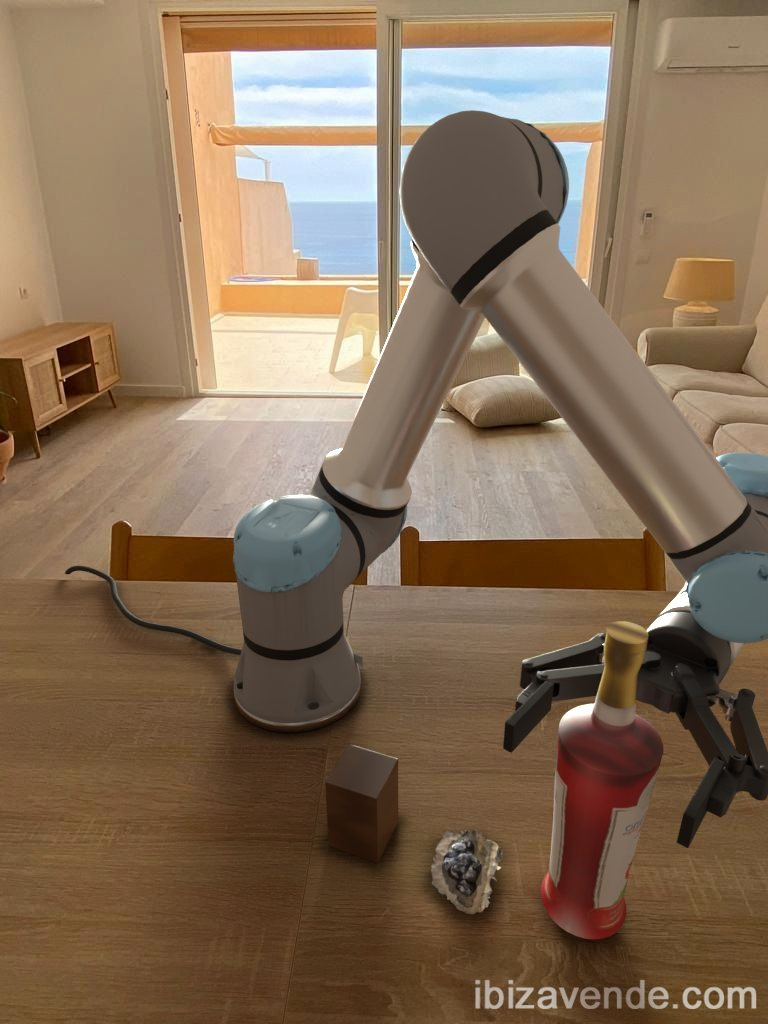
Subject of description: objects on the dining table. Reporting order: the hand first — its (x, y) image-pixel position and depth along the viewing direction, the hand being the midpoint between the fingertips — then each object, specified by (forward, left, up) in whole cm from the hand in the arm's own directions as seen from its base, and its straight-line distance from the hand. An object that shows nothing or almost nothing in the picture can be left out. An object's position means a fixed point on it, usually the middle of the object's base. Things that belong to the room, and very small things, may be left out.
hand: (589, 781), depth 50 cm
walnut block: (-19, +2, -16) cm, 25 cm away
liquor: (+1, +2, -16) cm, 17 cm away
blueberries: (-9, +2, -16) cm, 19 cm away
